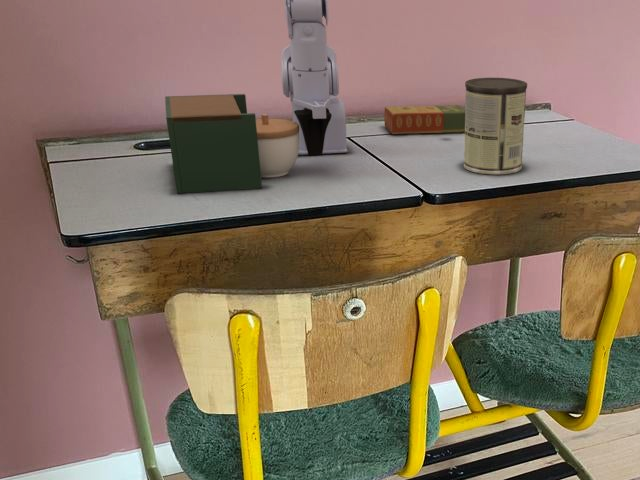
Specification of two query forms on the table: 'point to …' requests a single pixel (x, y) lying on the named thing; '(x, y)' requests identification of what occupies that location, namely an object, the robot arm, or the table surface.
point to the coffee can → (494, 125)
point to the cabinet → (213, 143)
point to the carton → (425, 119)
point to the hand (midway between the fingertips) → (315, 155)
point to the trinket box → (277, 145)
